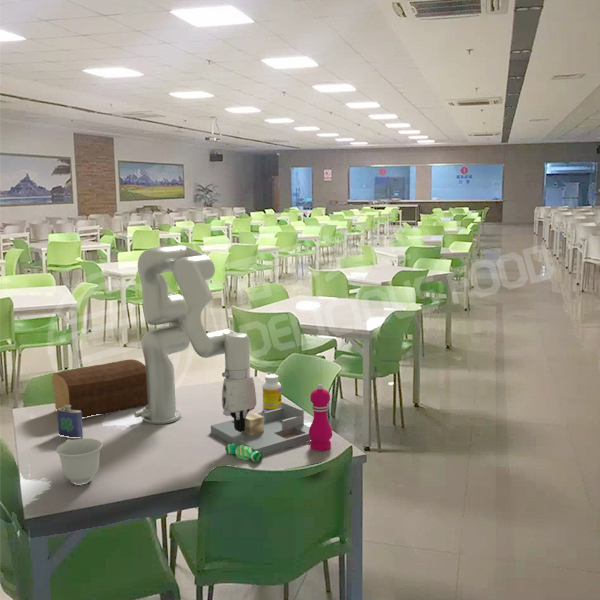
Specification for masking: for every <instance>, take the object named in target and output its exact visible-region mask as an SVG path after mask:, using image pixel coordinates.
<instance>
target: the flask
mask: <svg viewBox="0 0 600 600" xmlns="http://www.w3.org/2000/svg"><path fill="white" fill-rule="evenodd" d="M65 407H67V408H64V407H63V408H59V409H57V411H56V416H57V431H58V432H57V433H59V434H60V435H64V436H69V437H81V438H82V437H83V438H84V430H83V419H82V413H81V411H80V410H70V409H71V405H70V406H69V405H65Z"/></svg>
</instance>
